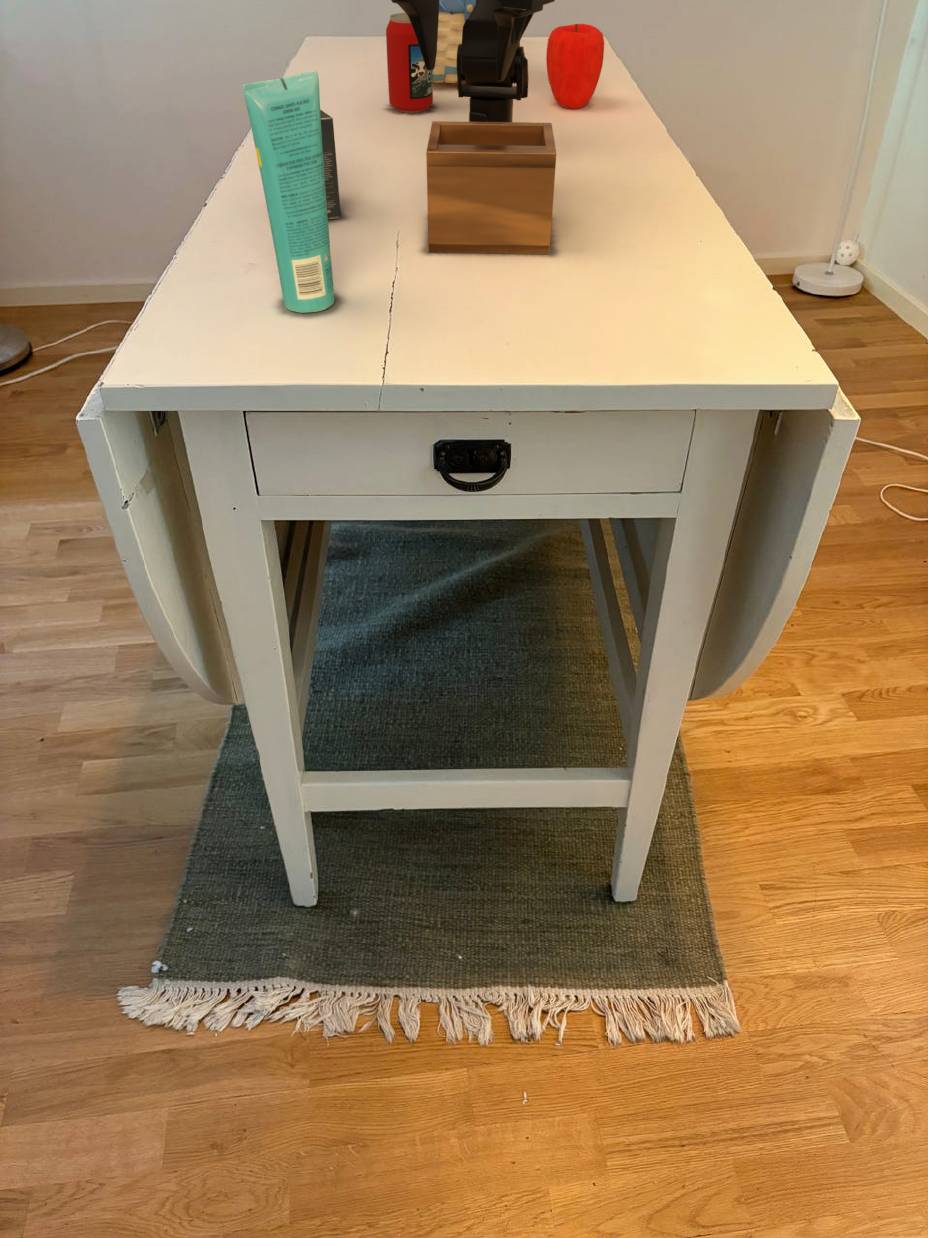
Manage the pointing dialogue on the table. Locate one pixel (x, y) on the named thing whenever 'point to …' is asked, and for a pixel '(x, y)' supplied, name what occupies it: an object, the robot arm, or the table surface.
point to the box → (330, 166)
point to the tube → (294, 185)
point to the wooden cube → (490, 187)
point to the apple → (574, 63)
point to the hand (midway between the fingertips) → (465, 74)
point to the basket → (450, 37)
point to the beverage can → (406, 68)
